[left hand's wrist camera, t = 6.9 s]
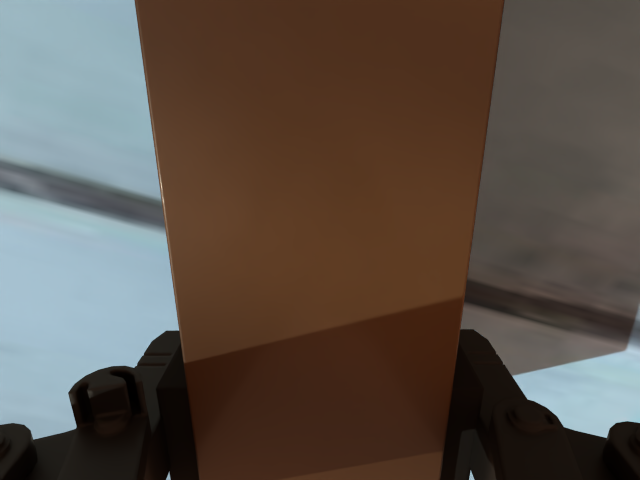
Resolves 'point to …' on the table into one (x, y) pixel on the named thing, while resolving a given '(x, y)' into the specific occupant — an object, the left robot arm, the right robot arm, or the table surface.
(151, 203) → the table surface
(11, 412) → the table surface
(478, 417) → the left robot arm
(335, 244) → the bar
